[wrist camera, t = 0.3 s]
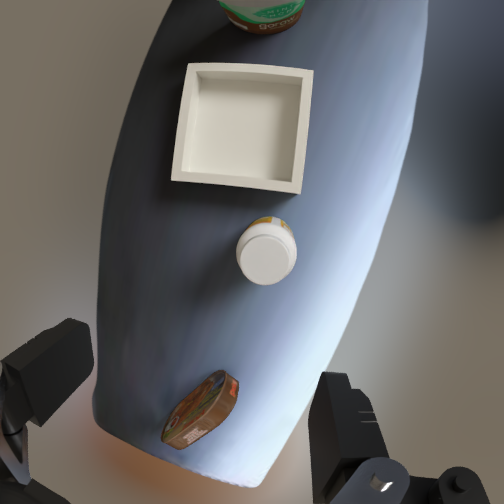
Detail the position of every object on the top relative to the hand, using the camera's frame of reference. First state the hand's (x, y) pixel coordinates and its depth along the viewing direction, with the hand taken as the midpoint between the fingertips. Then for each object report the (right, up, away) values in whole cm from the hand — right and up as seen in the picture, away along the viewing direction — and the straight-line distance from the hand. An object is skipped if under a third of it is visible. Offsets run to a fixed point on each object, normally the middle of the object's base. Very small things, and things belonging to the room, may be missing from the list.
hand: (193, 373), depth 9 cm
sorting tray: (+1, +17, +21) cm, 28 cm away
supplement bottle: (+4, +5, +24) cm, 25 cm away
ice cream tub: (+5, +32, +18) cm, 37 cm away
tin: (-5, -16, +30) cm, 34 cm away
